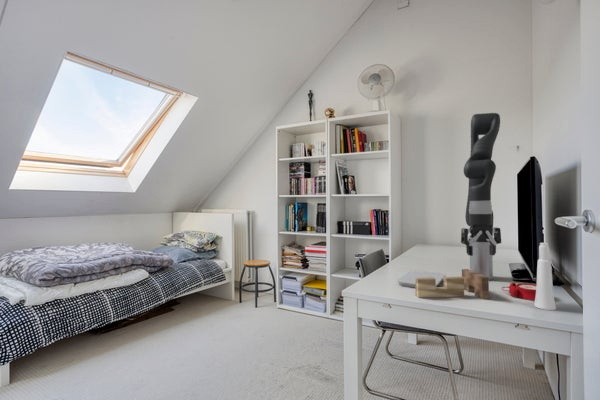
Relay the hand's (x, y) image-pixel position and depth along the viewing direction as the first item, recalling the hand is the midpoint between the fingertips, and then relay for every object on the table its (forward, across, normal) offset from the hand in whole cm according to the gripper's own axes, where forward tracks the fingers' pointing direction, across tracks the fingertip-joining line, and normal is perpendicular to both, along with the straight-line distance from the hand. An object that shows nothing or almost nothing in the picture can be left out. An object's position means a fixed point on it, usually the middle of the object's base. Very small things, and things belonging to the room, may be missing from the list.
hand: (481, 255), depth 122 cm
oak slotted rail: (+16, -15, +3) cm, 22 cm away
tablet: (+16, -13, +25) cm, 32 cm away
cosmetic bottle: (+16, +14, -13) cm, 25 cm away
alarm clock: (+16, +17, 0) cm, 23 cm away
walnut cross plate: (+16, 0, +5) cm, 16 cm away
